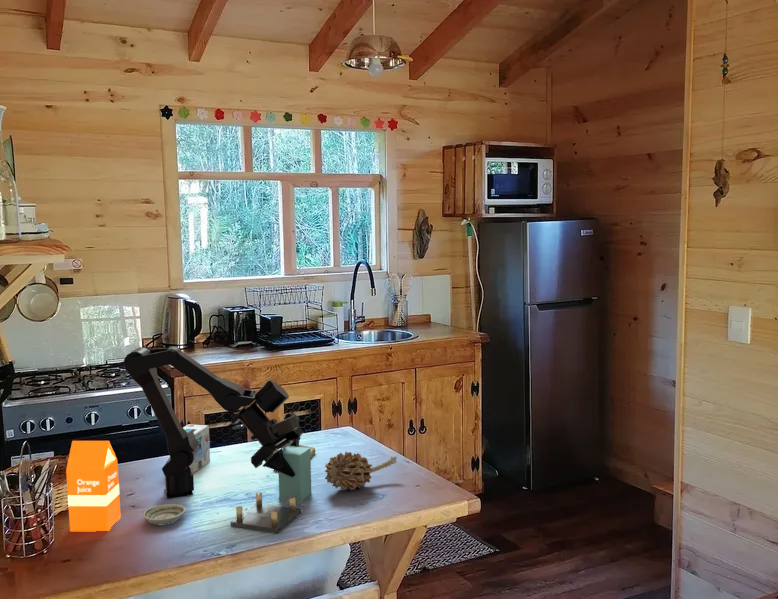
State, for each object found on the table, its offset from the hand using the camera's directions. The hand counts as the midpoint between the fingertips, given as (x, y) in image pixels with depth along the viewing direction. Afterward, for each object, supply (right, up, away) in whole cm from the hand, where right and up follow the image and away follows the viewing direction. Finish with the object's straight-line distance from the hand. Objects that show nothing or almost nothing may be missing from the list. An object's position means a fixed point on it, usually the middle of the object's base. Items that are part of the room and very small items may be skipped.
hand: (299, 471), depth 188 cm
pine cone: (+15, -6, +8) cm, 18 cm away
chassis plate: (-6, -8, -13) cm, 17 cm away
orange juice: (-46, -9, -14) cm, 49 cm away
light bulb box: (-34, -4, +25) cm, 42 cm away
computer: (-5, -4, +28) cm, 28 cm away
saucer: (-30, -9, -12) cm, 34 cm away
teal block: (-1, -7, +1) cm, 7 cm away
